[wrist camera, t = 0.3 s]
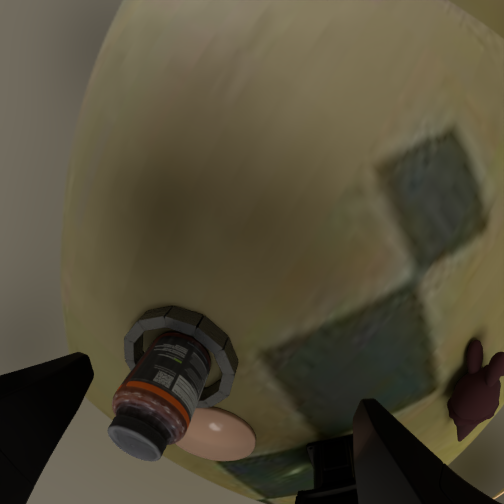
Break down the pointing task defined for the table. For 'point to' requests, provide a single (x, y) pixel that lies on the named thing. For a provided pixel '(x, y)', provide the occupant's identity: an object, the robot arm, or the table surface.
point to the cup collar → (199, 330)
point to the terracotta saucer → (218, 435)
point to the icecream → (476, 391)
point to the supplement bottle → (159, 396)
